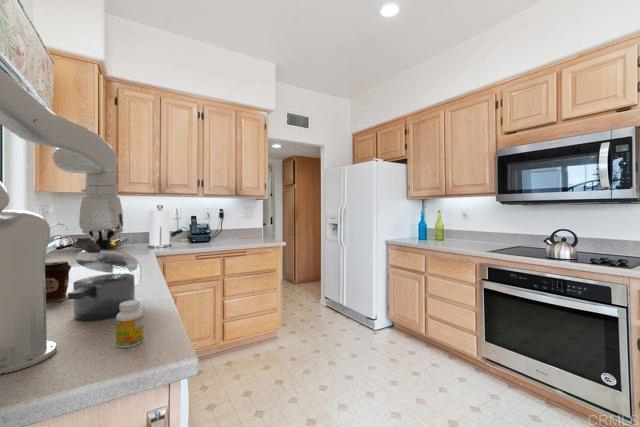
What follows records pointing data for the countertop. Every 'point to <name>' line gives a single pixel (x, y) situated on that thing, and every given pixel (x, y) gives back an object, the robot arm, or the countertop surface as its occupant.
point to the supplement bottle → (129, 324)
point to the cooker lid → (104, 258)
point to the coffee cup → (56, 280)
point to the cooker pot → (101, 296)
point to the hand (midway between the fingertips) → (103, 252)
